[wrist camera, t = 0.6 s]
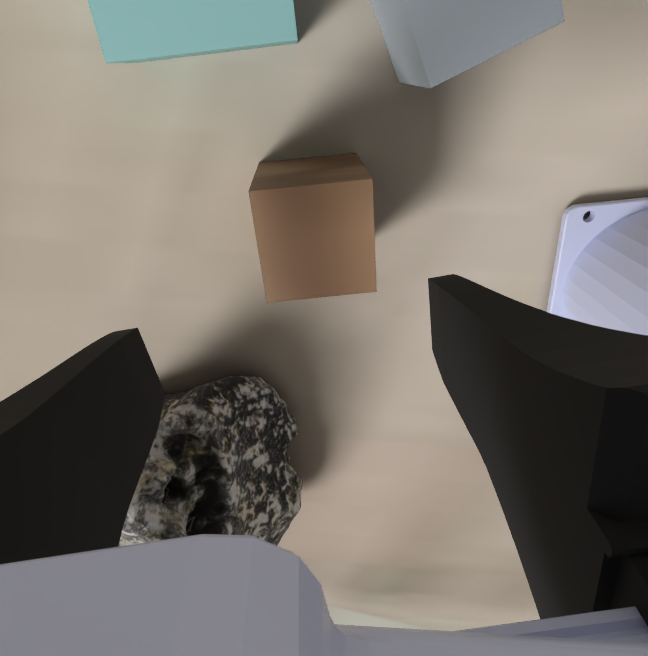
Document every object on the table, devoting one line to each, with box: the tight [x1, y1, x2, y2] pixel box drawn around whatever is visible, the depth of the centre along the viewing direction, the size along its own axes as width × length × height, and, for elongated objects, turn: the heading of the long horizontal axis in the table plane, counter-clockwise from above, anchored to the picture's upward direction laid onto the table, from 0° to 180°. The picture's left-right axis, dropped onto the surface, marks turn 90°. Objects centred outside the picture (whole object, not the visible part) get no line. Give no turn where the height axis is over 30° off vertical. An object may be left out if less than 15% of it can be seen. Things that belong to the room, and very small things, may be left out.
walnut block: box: [249, 153, 377, 303], centre depth 18 cm, size 4×4×5 cm
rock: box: [118, 375, 302, 547], centre depth 25 cm, size 13×10×10 cm
